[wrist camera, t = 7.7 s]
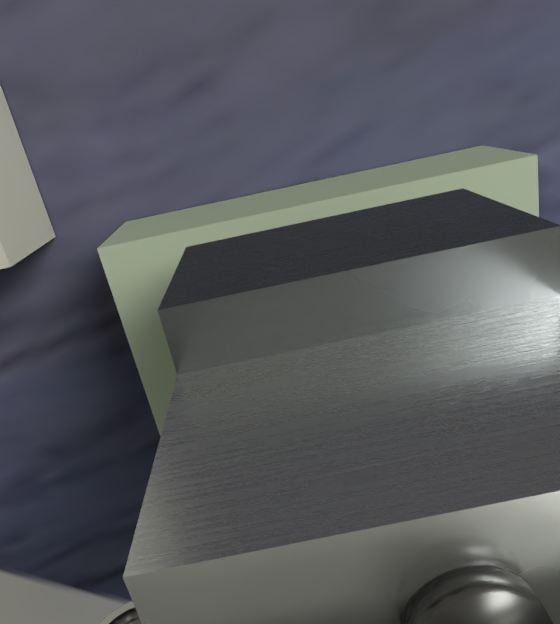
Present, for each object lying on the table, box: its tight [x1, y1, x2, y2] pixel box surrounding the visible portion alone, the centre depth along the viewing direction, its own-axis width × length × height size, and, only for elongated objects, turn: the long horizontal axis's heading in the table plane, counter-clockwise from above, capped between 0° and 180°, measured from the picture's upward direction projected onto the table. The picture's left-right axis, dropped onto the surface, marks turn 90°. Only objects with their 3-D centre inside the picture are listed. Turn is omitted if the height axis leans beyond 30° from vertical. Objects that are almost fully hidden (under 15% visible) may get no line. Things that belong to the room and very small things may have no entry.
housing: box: [123, 188, 560, 624], centre depth 9 cm, size 10×6×7 cm, turn 12°
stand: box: [97, 146, 539, 437], centre depth 15 cm, size 10×10×3 cm
